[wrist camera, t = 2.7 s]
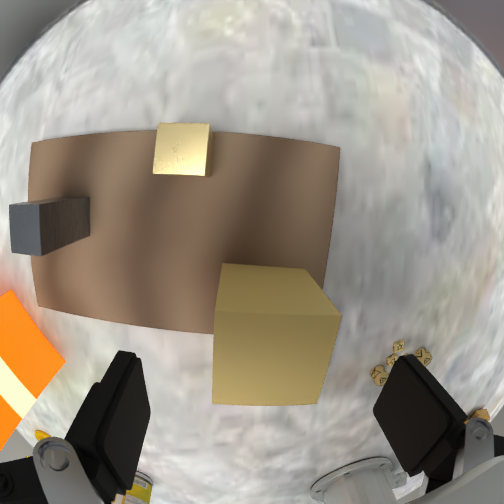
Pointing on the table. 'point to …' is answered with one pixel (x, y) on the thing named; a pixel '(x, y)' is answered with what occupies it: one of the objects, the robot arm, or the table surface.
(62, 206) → the post
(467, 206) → the table surface
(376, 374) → the set of tan pieces
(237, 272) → the tan rectangular block
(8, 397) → the orange juice
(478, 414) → the pyrite
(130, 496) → the supplement bottle
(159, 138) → the wooden stub
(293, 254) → the board
